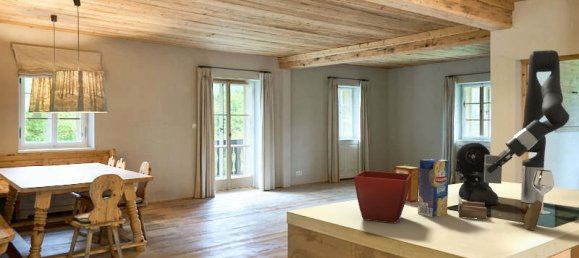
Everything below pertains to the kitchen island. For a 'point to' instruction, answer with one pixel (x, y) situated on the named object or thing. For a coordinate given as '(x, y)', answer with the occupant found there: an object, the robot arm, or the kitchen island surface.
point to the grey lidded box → (496, 174)
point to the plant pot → (381, 195)
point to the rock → (532, 215)
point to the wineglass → (543, 184)
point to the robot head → (474, 174)
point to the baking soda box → (414, 181)
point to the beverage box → (433, 187)
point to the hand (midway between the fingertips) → (487, 170)
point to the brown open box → (472, 209)
